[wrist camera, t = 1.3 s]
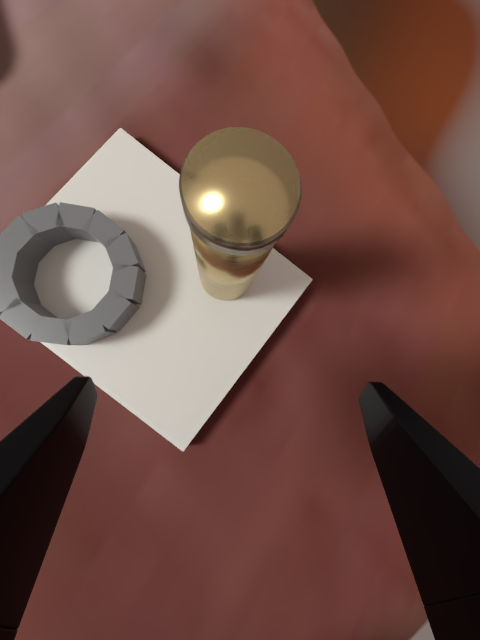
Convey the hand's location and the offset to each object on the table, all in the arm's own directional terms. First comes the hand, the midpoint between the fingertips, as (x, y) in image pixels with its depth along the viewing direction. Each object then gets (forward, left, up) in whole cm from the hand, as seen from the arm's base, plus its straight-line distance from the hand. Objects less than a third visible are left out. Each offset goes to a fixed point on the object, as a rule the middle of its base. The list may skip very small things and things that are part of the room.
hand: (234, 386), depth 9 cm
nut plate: (+8, -1, -13) cm, 15 cm away
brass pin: (+4, -5, -11) cm, 13 cm away
